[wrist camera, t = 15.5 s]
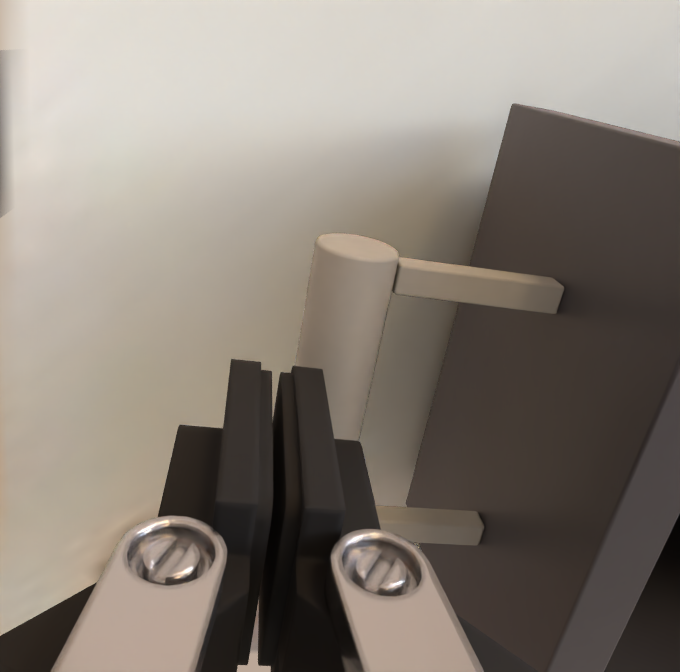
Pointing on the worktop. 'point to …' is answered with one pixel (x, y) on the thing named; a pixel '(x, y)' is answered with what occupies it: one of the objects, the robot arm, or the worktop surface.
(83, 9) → the worktop surface
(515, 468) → the grey drawer with handle
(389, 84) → the worktop surface
